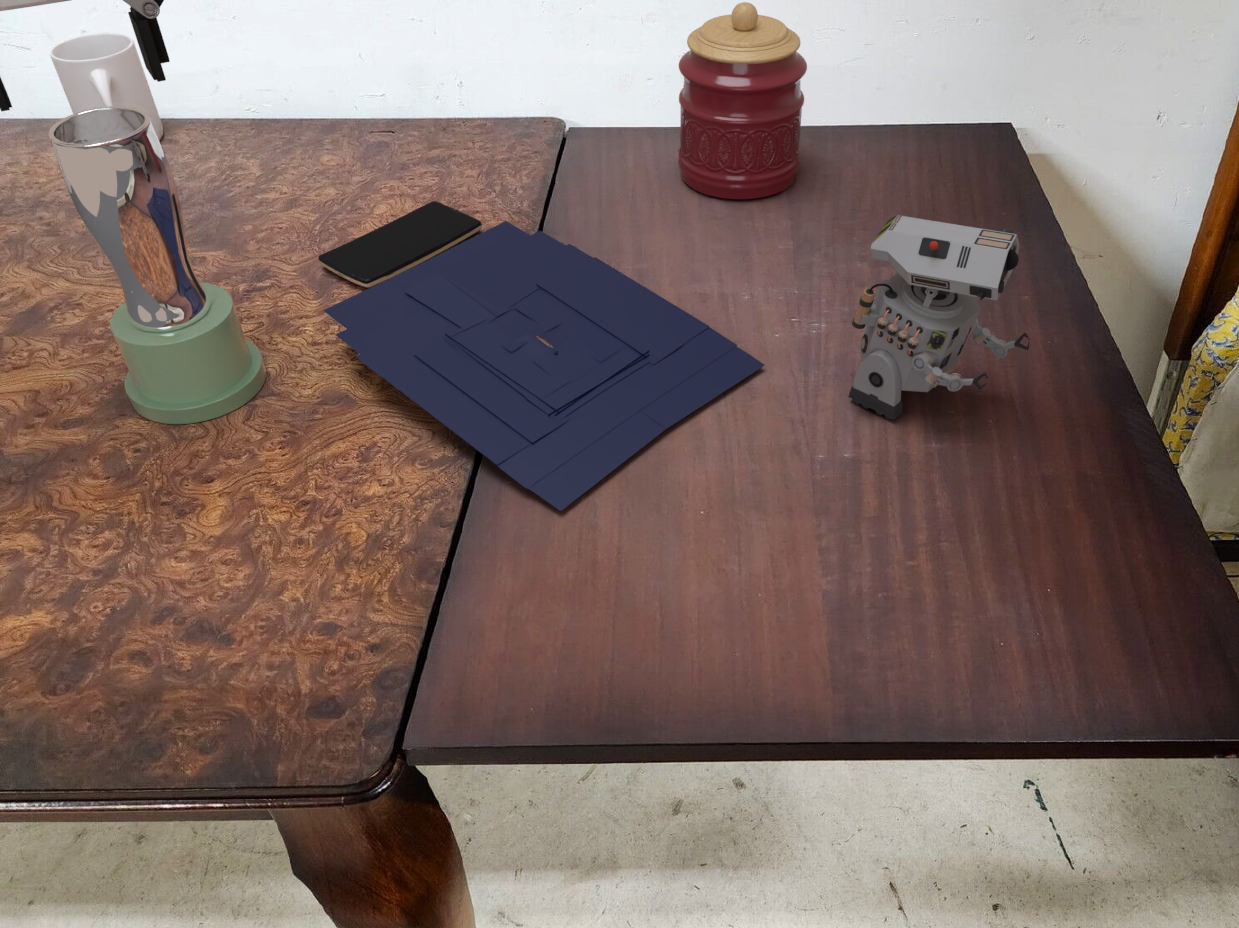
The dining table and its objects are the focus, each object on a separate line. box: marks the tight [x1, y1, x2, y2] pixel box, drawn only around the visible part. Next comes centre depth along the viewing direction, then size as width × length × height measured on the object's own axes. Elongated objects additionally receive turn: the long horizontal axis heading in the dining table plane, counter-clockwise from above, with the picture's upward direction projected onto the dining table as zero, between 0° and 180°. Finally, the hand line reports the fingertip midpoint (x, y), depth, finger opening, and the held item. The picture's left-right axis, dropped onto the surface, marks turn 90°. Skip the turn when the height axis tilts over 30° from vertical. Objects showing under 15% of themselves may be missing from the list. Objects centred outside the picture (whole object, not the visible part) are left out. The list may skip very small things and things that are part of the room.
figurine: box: [848, 214, 1031, 420], centre depth 81 cm, size 9×12×15 cm
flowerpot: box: [109, 281, 267, 425], centre depth 86 cm, size 11×11×7 cm
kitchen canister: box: [678, 1, 808, 200], centre depth 109 cm, size 13×13×18 cm
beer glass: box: [48, 106, 210, 332], centre depth 78 cm, size 7×7×15 cm
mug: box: [49, 32, 164, 141], centre depth 119 cm, size 9×12×11 cm
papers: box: [322, 220, 766, 512], centre depth 89 cm, size 24×30×4 cm
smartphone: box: [318, 200, 483, 288], centre depth 104 cm, size 7×1×15 cm
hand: (82, 88), depth 72 cm, fingers open, 9 cm apart
